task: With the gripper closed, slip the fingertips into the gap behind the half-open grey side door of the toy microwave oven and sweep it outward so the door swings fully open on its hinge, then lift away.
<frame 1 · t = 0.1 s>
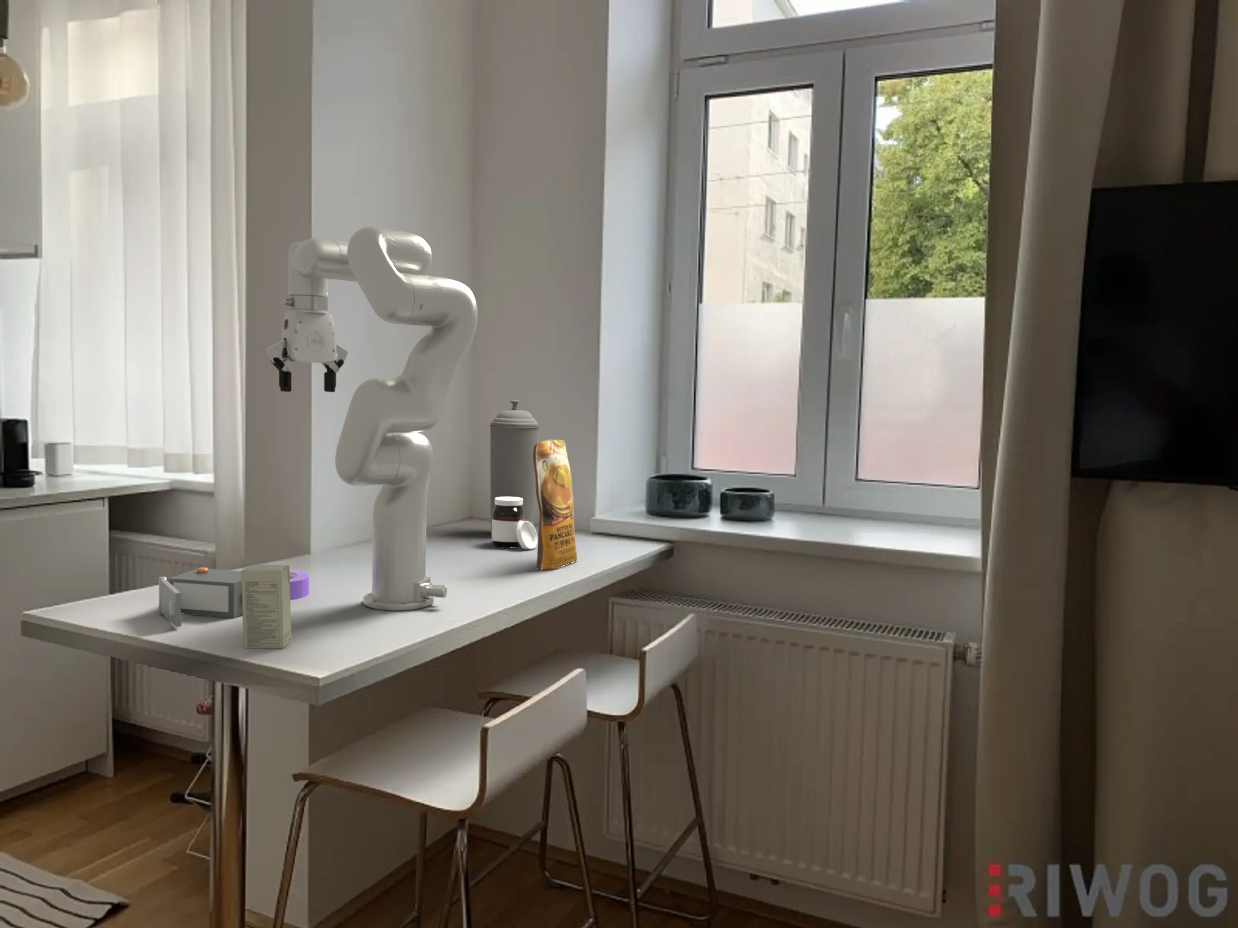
hand: (308, 391, 200), 37 cm above the breakfast bar, tool pointing down, fingers open, 9 cm apart
masking tape: (276, 596, 186), on the breakfast bar
toy microwave oven: (216, 609, 173), on the breakfast bar
side door: (168, 602, 164), point 3 cm above the breakfast bar, hinge at 45.0°
canister: (512, 535, 259), on the breakfast bar
spread jar: (514, 547, 242), on the breakfast bar
skincare box: (266, 646, 153), on the breakfast bar
pancake mix bag: (554, 565, 222), on the breakfast bar
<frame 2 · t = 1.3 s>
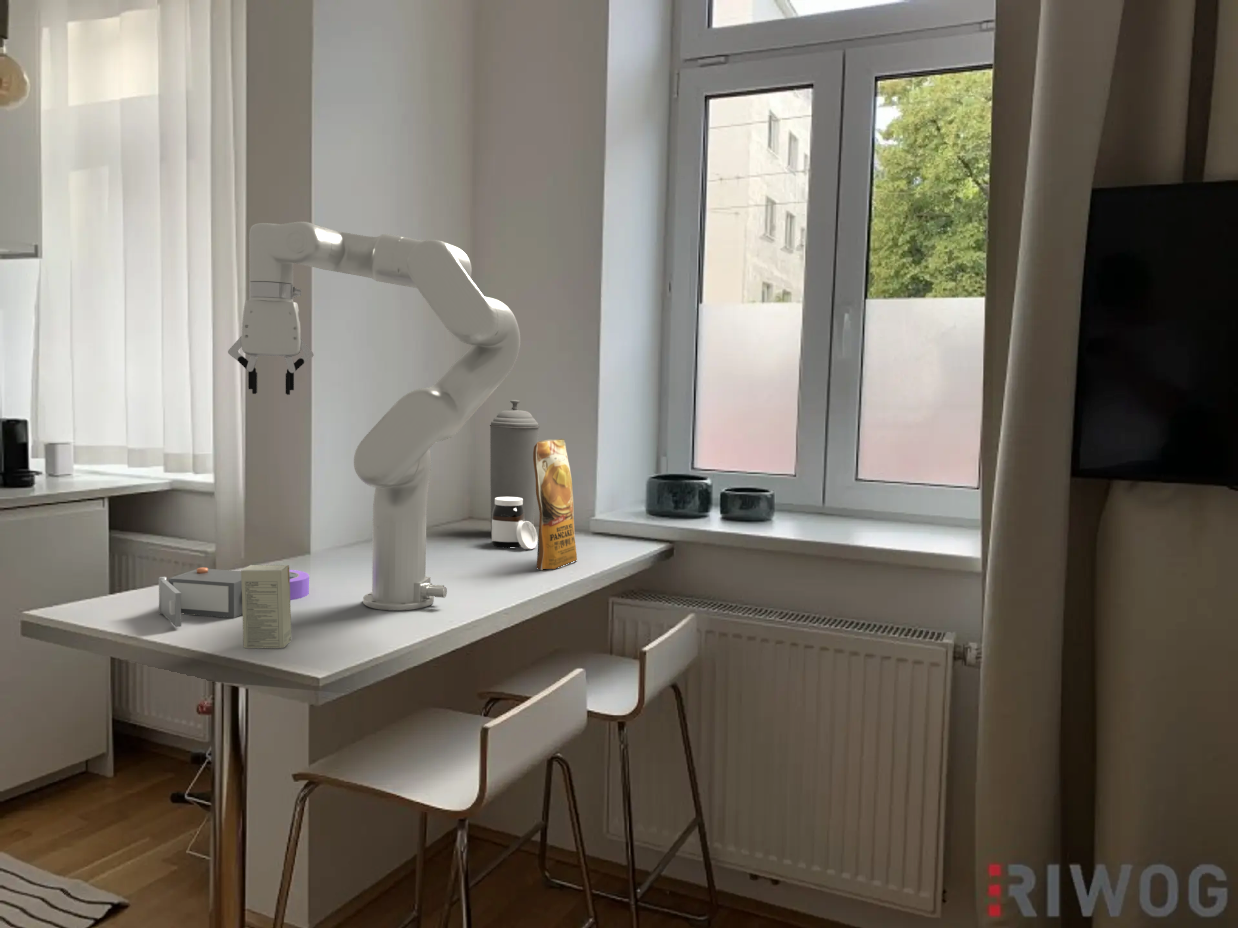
hand: (271, 393, 182), 37 cm above the breakfast bar, tool pointing down, fingers open, 5 cm apart
nothing on the breakfast bar moved.
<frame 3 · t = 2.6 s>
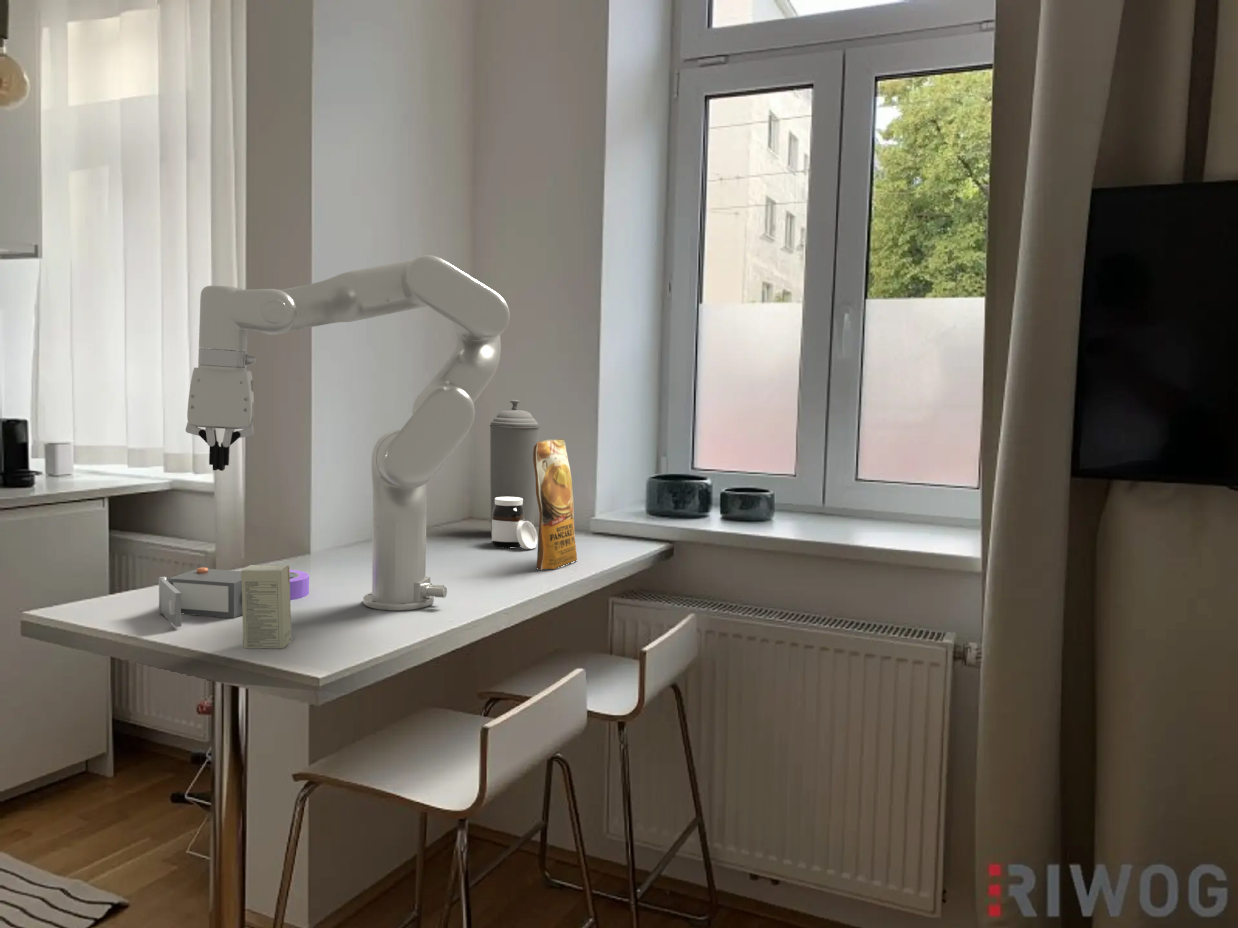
hand: (218, 469, 168), 25 cm above the breakfast bar, tool pointing down, fingers closed
nothing on the breakfast bar moved.
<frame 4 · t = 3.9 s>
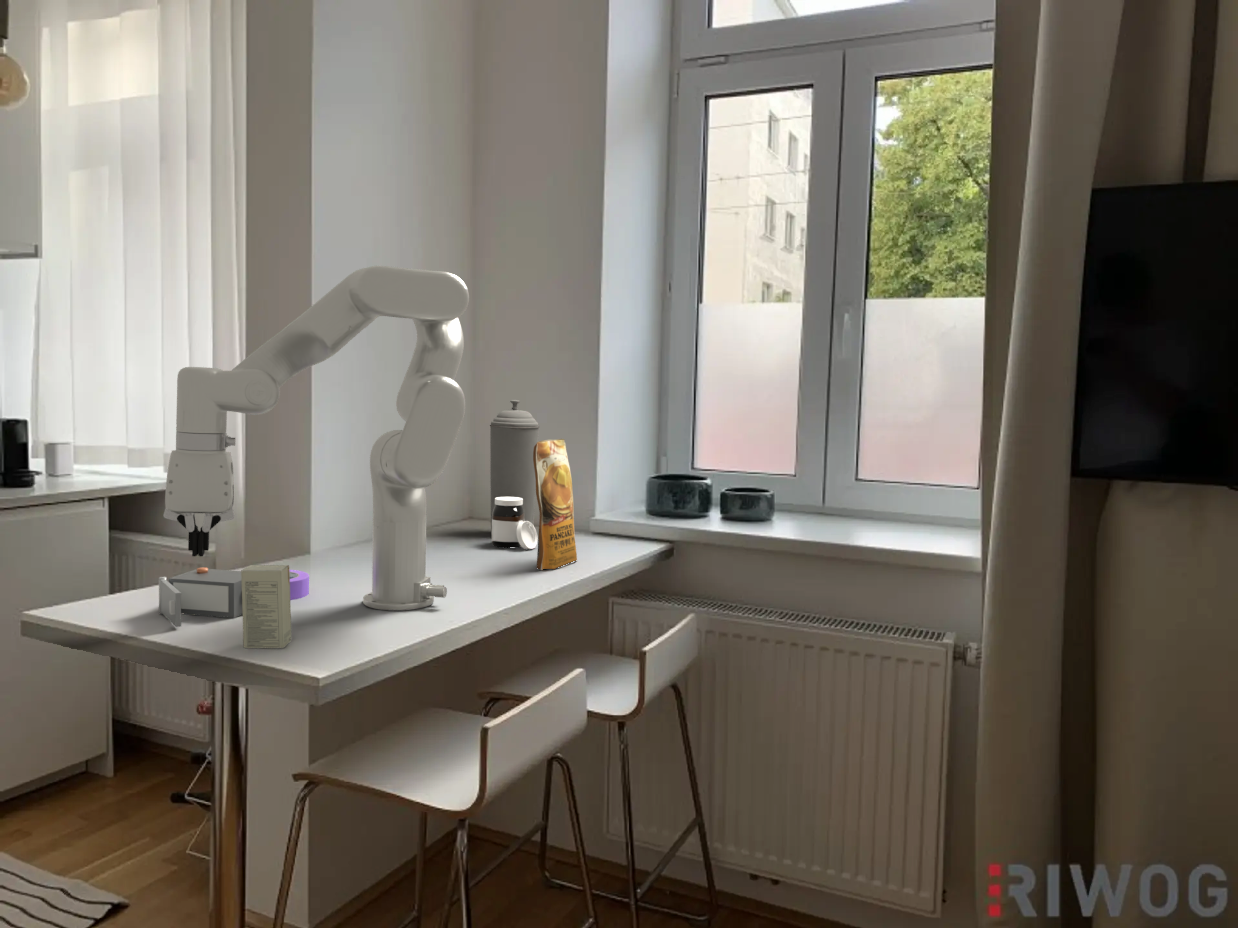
hand: (198, 554, 163), 11 cm above the breakfast bar, tool pointing down, fingers closed
nothing on the breakfast bar moved.
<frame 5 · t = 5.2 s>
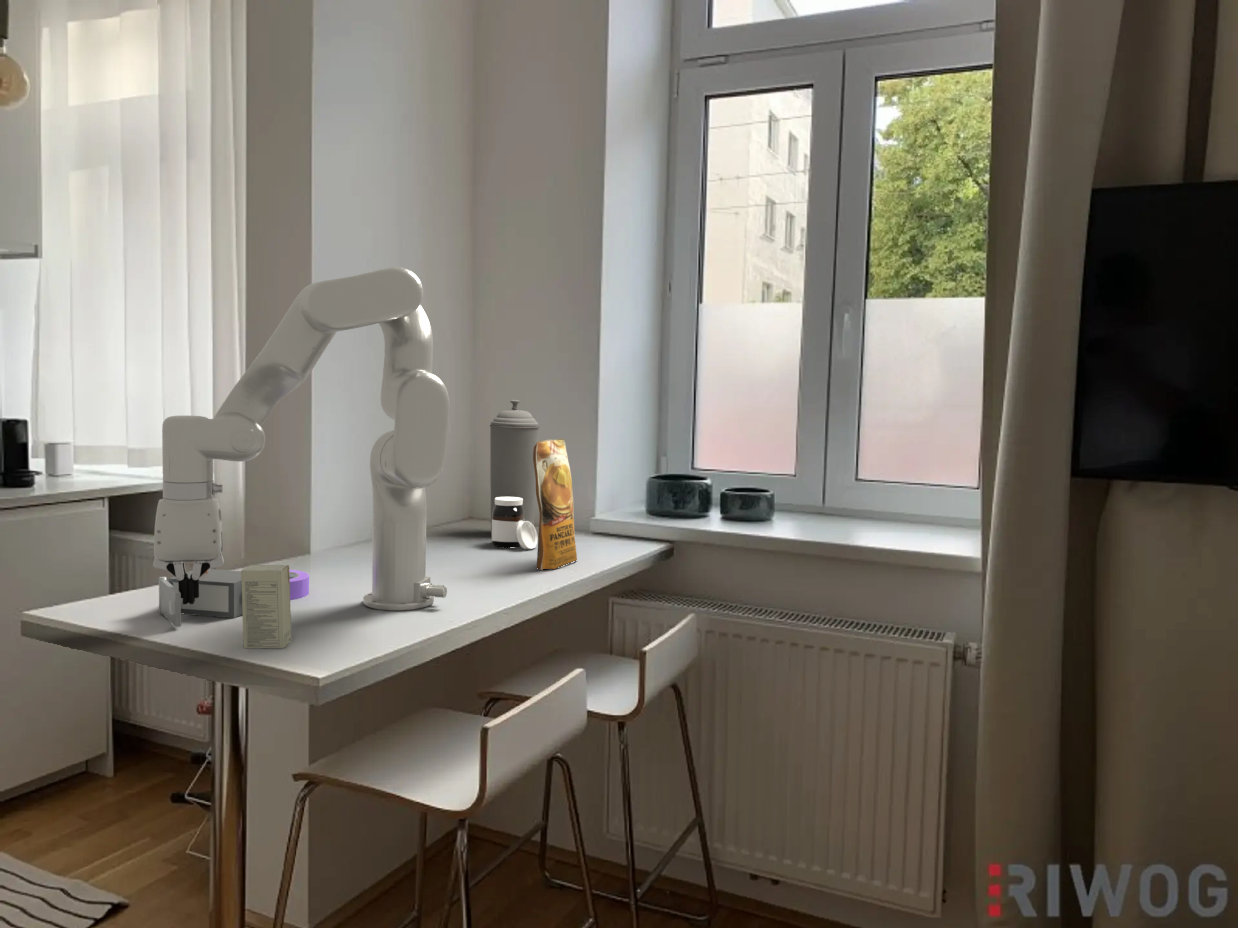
hand: (189, 602, 163), 3 cm above the breakfast bar, tool pointing down, fingers closed
side door: (168, 602, 164), point 3 cm above the breakfast bar, hinge at 45.1°, touching gripper
everything else where it was.
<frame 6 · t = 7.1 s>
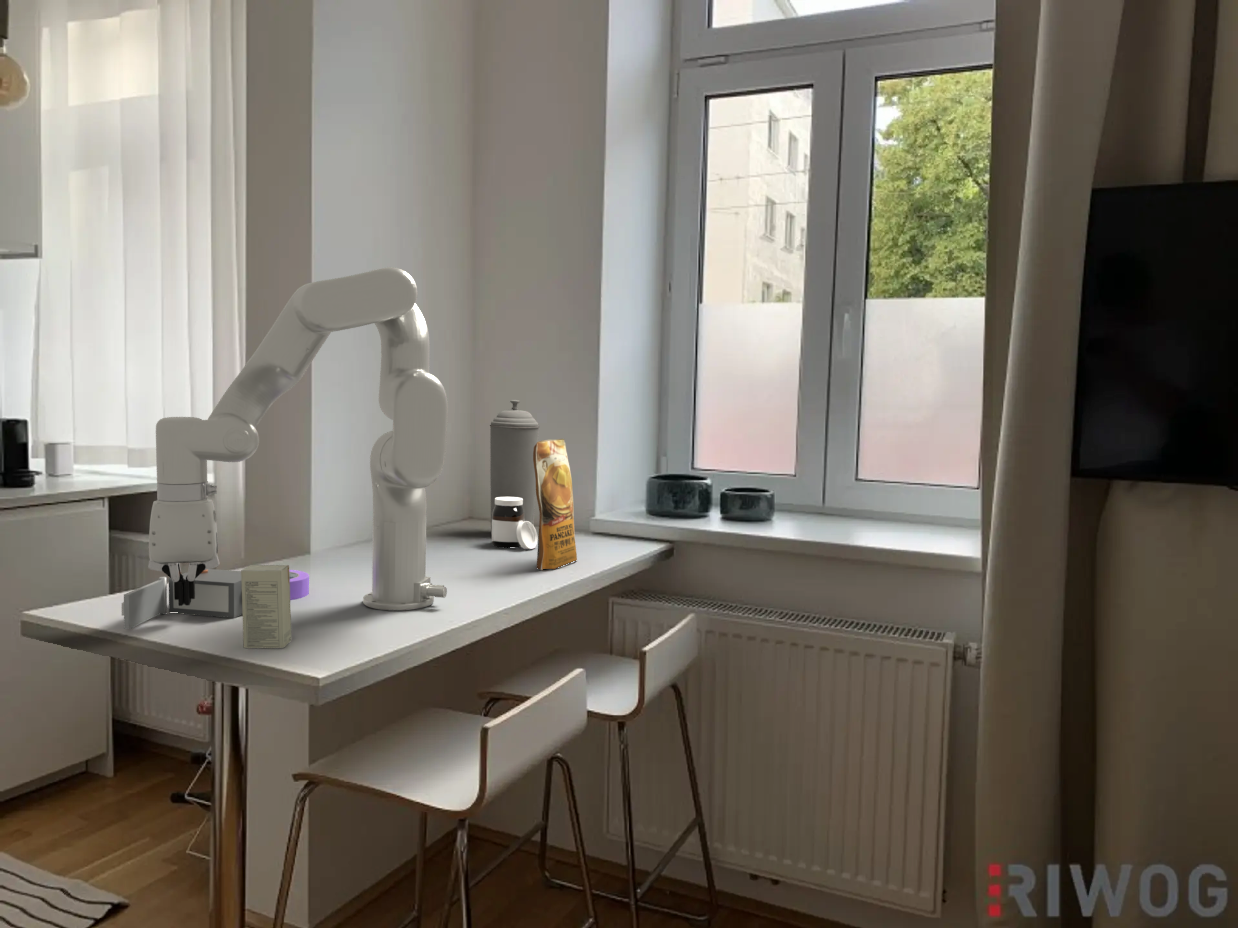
hand: (185, 603, 163), 3 cm above the breakfast bar, tool pointing down, fingers closed
side door: (145, 602, 163), point 3 cm above the breakfast bar, hinge at 83.3°
everything else where it was.
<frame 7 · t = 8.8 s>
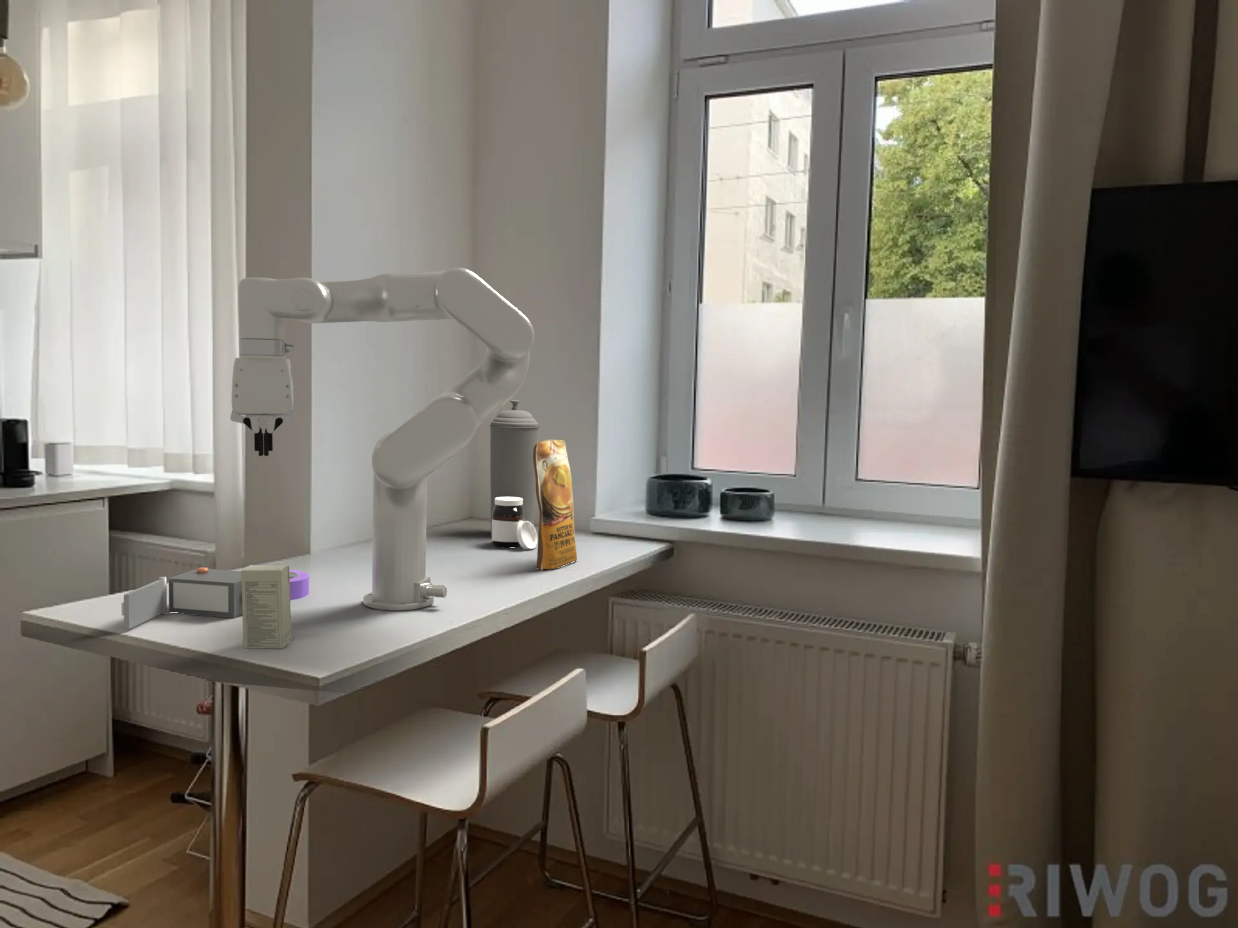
hand: (263, 455, 175), 27 cm above the breakfast bar, tool pointing down, fingers closed
nothing on the breakfast bar moved.
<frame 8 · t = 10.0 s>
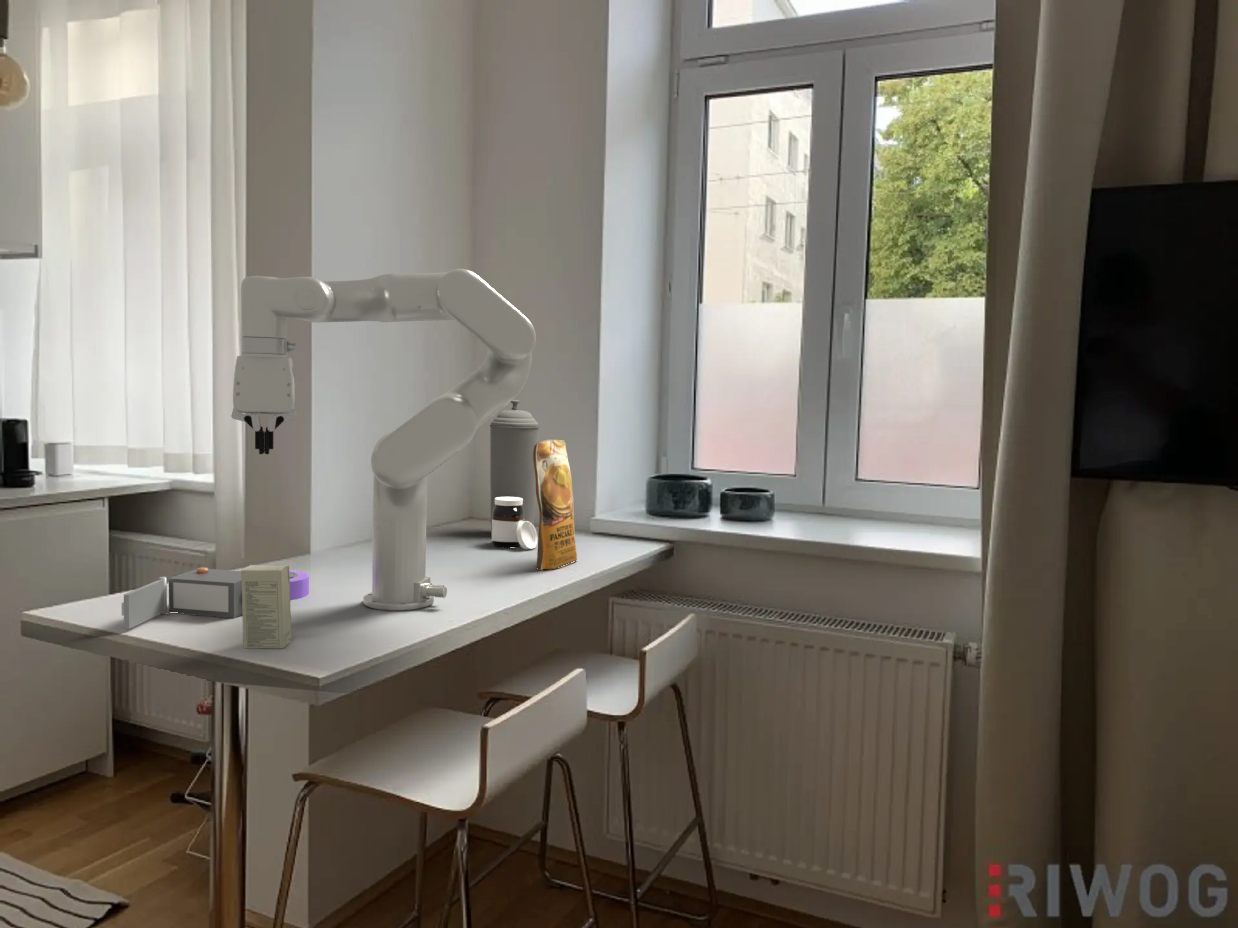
hand: (264, 453, 175), 27 cm above the breakfast bar, tool pointing down, fingers closed
nothing on the breakfast bar moved.
at the end: side door at +83° (first picture: +45°) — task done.
